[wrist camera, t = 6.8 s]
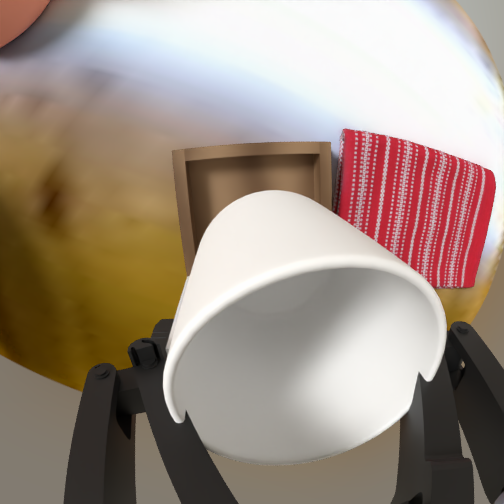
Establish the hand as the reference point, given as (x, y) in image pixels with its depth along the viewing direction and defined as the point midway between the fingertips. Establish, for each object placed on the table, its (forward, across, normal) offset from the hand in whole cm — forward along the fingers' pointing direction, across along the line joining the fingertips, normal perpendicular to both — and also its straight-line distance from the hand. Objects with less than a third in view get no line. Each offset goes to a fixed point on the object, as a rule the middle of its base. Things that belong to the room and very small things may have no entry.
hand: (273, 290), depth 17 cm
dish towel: (+12, +19, 0) cm, 23 cm away
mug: (+1, -1, 0) cm, 1 cm away
